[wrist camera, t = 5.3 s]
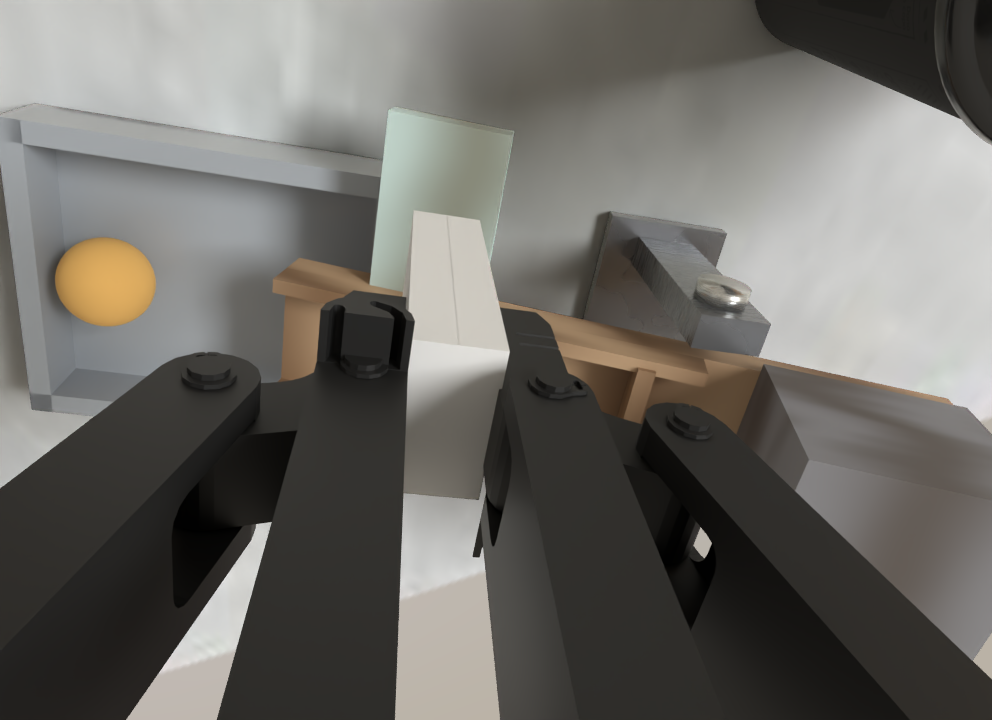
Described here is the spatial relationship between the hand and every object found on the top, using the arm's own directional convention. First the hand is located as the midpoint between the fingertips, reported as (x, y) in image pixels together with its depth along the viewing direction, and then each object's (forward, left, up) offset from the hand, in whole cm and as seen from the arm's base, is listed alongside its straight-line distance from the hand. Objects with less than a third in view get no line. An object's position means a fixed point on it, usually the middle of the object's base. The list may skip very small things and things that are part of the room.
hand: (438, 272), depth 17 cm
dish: (-8, -6, -14) cm, 17 cm away
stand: (+10, -6, -14) cm, 18 cm away
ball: (-12, -6, -11) cm, 18 cm away
